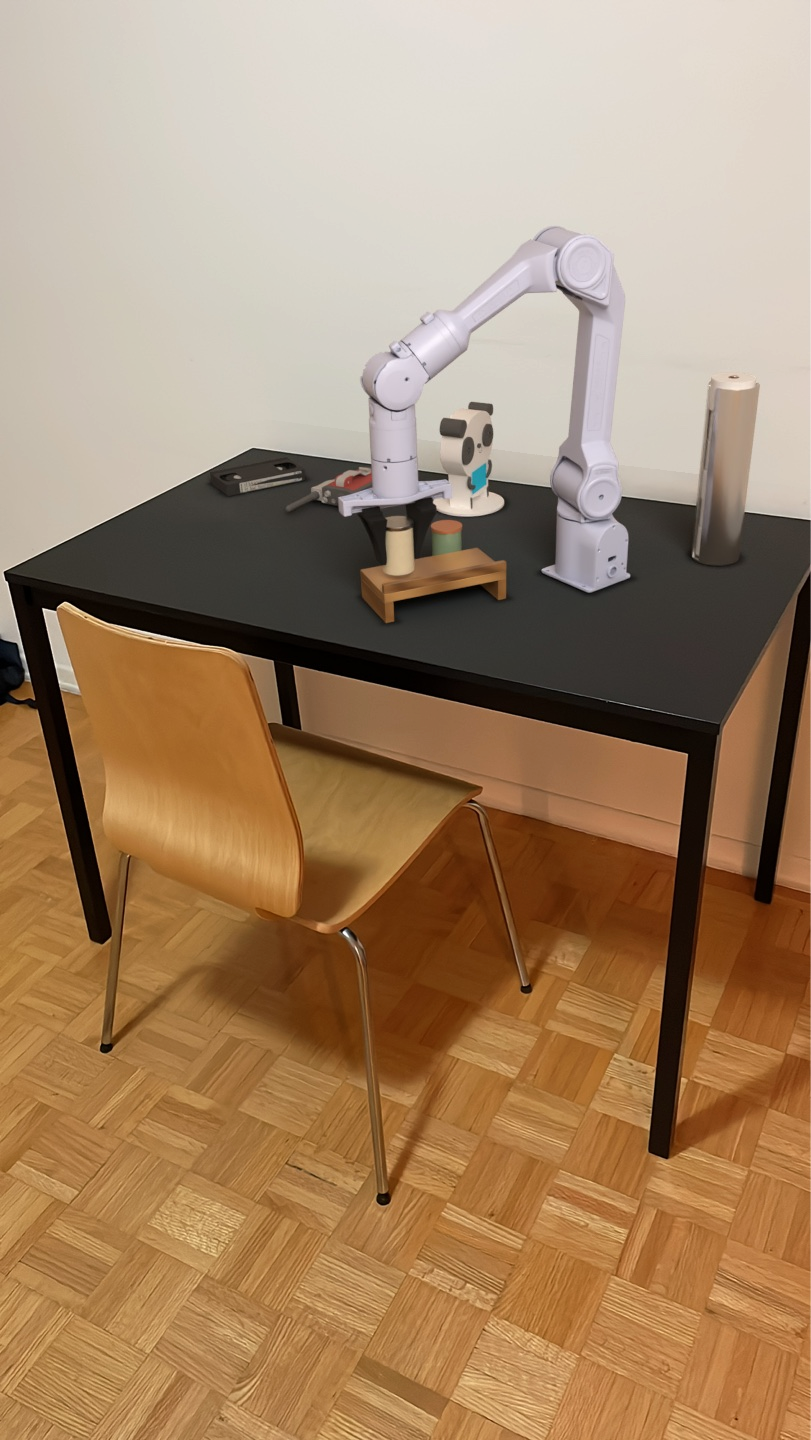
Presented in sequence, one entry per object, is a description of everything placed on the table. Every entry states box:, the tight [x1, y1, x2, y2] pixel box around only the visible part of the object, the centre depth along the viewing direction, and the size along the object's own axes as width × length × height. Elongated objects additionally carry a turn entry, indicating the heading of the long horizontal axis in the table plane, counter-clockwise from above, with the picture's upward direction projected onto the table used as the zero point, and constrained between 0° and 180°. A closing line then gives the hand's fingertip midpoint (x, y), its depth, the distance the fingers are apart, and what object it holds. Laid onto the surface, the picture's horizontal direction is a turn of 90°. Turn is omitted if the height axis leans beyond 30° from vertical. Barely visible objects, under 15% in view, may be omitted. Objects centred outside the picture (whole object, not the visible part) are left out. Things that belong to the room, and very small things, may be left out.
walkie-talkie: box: [285, 466, 373, 513], centre depth 183 cm, size 9×4×20 cm
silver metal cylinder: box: [690, 371, 761, 567], centre depth 152 cm, size 6×6×25 cm
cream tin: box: [383, 515, 415, 576], centre depth 145 cm, size 4×4×6 cm
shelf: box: [359, 547, 507, 624], centre depth 149 cm, size 17×9×5 cm, turn 112°
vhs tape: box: [209, 457, 306, 497], centre depth 194 cm, size 14×8×2 cm, turn 119°
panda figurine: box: [433, 401, 505, 517], centre depth 177 cm, size 12×11×15 cm
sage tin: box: [430, 519, 463, 556], centre depth 157 cm, size 4×4×6 cm
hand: (398, 559), depth 146 cm, fingers closed on cream tin, 4 cm apart
